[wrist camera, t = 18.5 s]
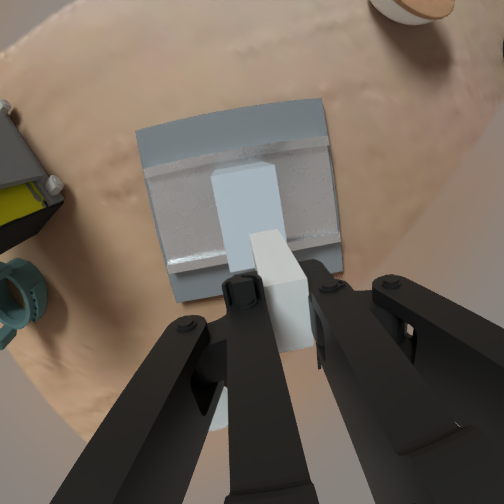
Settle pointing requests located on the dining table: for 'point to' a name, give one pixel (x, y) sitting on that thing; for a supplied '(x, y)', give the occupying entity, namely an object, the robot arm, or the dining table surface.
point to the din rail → (205, 211)
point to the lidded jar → (414, 10)
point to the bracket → (33, 293)
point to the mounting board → (227, 138)
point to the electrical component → (22, 187)
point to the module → (246, 208)
